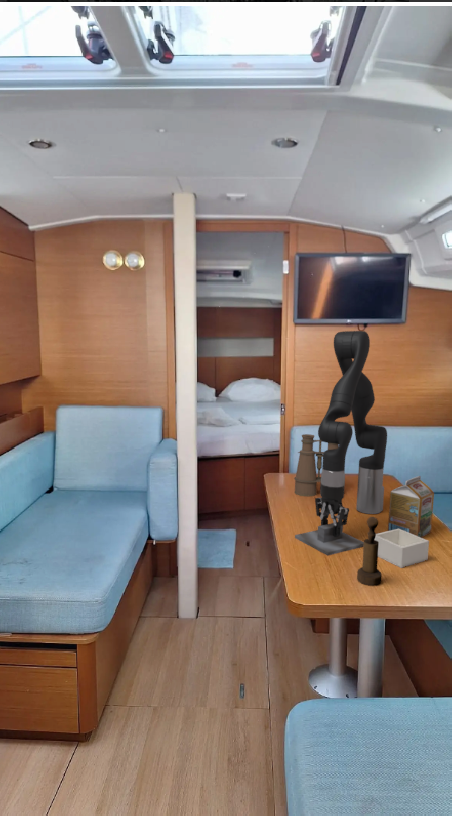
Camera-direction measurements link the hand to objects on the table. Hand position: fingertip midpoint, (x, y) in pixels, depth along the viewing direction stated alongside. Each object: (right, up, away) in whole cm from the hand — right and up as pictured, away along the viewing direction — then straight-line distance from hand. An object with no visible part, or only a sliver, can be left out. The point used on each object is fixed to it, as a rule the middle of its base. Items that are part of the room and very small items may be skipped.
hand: (330, 533), depth 172 cm
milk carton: (+30, -2, +11) cm, 32 cm away
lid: (0, -4, 0) cm, 4 cm away
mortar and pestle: (+6, -7, -26) cm, 28 cm away
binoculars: (+5, +4, +53) cm, 54 cm away
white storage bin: (+19, -5, -10) cm, 22 cm away
